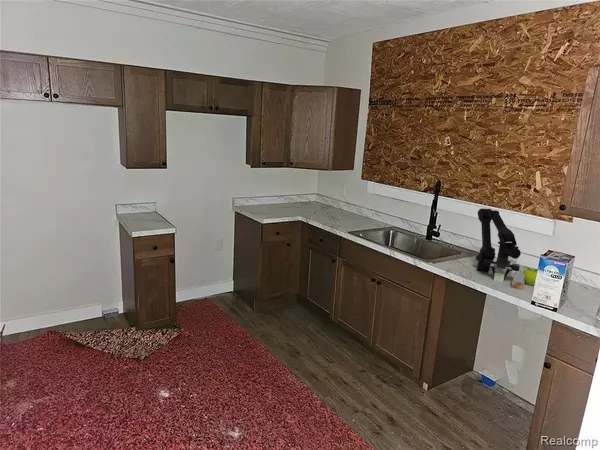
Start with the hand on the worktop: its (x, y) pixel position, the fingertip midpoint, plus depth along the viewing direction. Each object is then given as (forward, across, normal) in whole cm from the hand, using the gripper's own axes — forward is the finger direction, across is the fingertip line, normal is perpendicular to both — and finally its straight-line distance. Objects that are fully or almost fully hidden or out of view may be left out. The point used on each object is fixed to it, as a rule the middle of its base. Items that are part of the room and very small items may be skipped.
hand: (498, 278), depth 240 cm
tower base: (+1, +10, -6) cm, 12 cm away
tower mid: (-3, +10, -6) cm, 12 cm away
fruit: (+1, +16, +4) cm, 17 cm away
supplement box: (+1, +4, +23) cm, 23 cm away
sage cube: (+1, 0, 0) cm, 1 cm away
